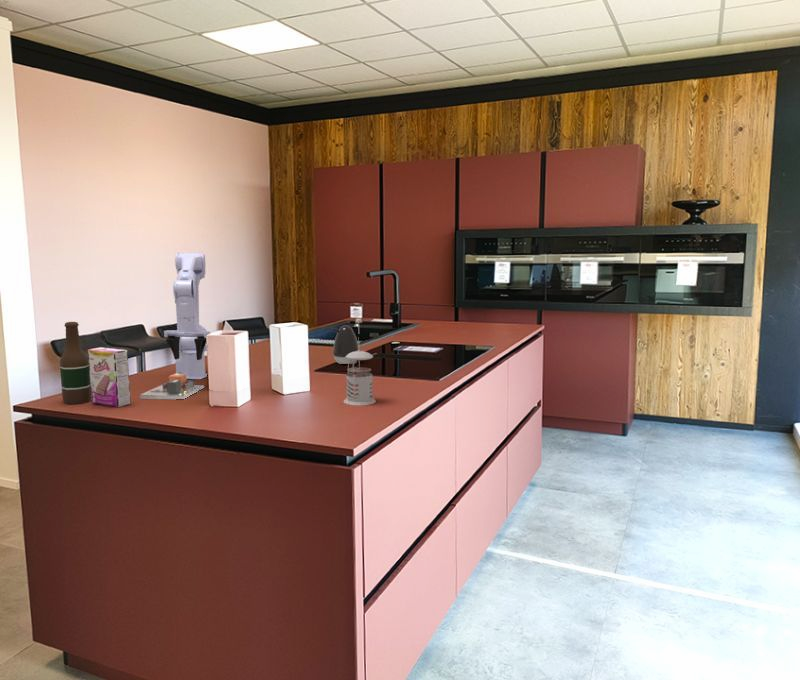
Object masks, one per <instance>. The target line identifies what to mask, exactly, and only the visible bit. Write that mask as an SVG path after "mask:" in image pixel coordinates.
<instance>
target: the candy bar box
mask: <svg viewBox="0 0 800 680" xmlns="http://www.w3.org/2000/svg"><path fill="white" fill-rule="evenodd" d="M128 355H129V354H128V350H126V349H120V348H112V347H111V348H110V347H101V346H100V347H95V348H89V349H87V357H88V361H89V370H90V384H91V404H94V405H95V404H96V405H102V406H107V407H108V406H109V407H115V408H121V407H124V406H128V405H131V403H132V401H131V399H132V398H131V387H130V372H129V371H130V370H129V358H128Z"/></svg>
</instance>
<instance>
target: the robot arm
mask: <svg viewBox="0 0 800 680" xmlns="http://www.w3.org/2000/svg"><path fill="white" fill-rule="evenodd" d="M174 262H175V263H174V264H175V269H176V274H177V276H176V280H175V281H173V284H172V290H173V293H172V294H173V298H174V304H175V311H176V312H175V313H176V328H177V329H175V330H173V329H172V330H168V329H167V330H163V334H164V335H163V336H164V338H166V339H165V341H166V343H167V345H168V346H169V348H170V349H171V353H172V354H173V358H174V359H173V360H175V374H176V373H180V374H186V380H203V379H204V378H207V377H208V376H207V374H208V373H206V364H205V363H206V360H205V359H206V358H205V352H207V351H208V349H207V345H206V336H207V335H208V334H210V331H209V330H207V328H206V327H204V326H202V325H201V324H200V308H199V307H200V306H199V305H200V301H199V300H200V298H199V296H200V295H199V291H200V290H199V285H200V282H201V280H202V279H205V277H206V255H205V253H204V252H201V253H200V252H197V253H196V252H185V253H184V252H176V254H175V257H174Z"/></svg>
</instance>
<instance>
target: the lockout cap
mask: <svg viewBox="0 0 800 680" xmlns="http://www.w3.org/2000/svg"><path fill="white" fill-rule="evenodd" d="M171 380H181V389H182V388H183V385H184V384H186V383H187V381H188V379H186V374H180V373H176V372H175V373H173V374H171V375H169V376H168V382H169V381H171Z"/></svg>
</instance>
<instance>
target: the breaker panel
mask: <svg viewBox="0 0 800 680" xmlns="http://www.w3.org/2000/svg"><path fill="white" fill-rule="evenodd" d="M203 388H204V389H205V385H202V384H195V380H187V383H186V384H184V385H183V388H182V389H181V391H179V392H177V393H167V384H166V382H165V383H162V384H161V385H158V386H156V387H154V388H152V389H149V390H148V391H146V392H143V393H140V394H139V399H143V400H145V399H146V400H176V399H184V400H186V399H188V398H190V397H191V396H190V395H192V394H194V393H196V392H197V393H199V392H200V391H199V390H201V389H203ZM204 389H203V390H204ZM198 391H199V392H198ZM201 391H202V390H201ZM197 393H196V394H197ZM194 395H195V394H194ZM189 396H190V397H189ZM192 396H193V395H192ZM187 397H188V398H187ZM185 398H186V399H185Z"/></svg>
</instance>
